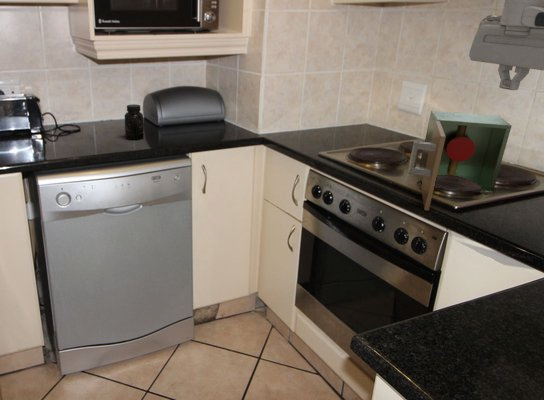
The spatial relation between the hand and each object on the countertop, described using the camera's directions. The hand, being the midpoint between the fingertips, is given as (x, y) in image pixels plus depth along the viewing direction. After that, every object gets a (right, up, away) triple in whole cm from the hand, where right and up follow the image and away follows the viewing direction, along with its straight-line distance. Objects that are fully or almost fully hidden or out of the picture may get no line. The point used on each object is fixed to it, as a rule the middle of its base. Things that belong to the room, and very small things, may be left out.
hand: (508, 89), depth 97 cm
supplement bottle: (-84, 0, +79) cm, 116 cm away
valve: (+11, -16, +40) cm, 44 cm away
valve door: (-6, -22, +28) cm, 36 cm away
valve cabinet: (+10, -18, +38) cm, 43 cm away
